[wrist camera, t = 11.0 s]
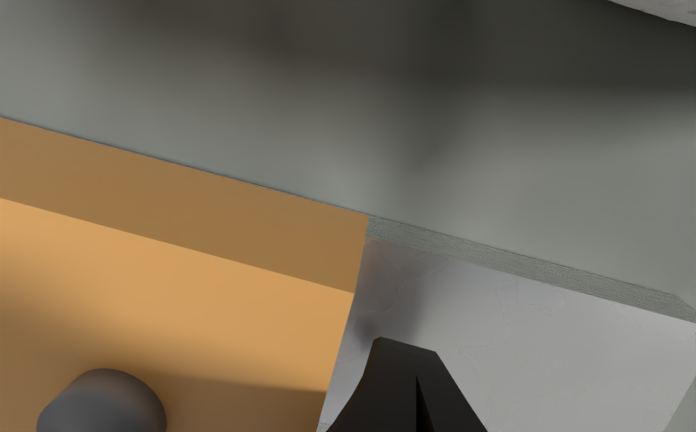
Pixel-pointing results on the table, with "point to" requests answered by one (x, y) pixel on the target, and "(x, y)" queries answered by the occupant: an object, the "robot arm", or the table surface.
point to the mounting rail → (517, 333)
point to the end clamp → (163, 294)
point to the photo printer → (665, 9)
